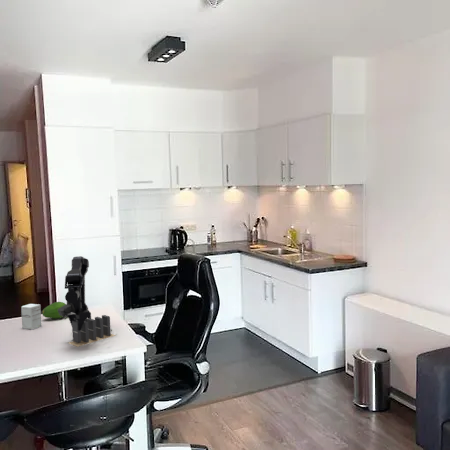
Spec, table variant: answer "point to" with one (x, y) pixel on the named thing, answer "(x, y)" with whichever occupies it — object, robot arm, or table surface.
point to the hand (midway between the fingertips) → (76, 329)
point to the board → (89, 341)
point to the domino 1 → (76, 332)
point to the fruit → (53, 310)
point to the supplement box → (31, 316)
